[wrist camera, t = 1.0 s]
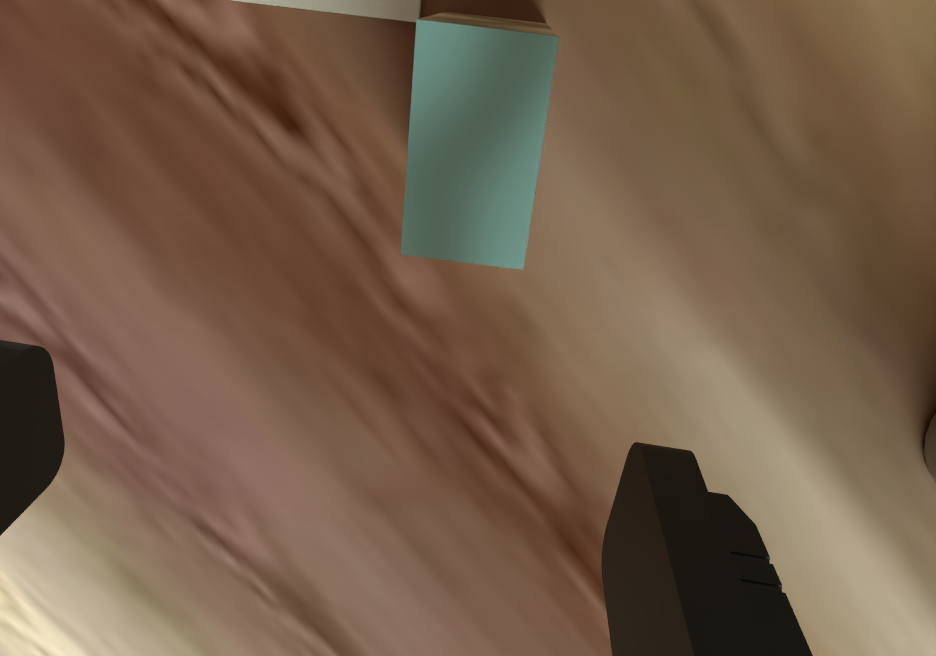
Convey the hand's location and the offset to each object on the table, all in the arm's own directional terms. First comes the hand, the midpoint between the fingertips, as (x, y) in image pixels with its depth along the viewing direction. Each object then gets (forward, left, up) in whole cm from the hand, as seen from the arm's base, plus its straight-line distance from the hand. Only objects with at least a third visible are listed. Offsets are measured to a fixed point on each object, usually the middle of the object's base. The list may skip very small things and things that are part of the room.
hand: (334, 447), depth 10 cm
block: (-1, -1, -22) cm, 22 cm away
